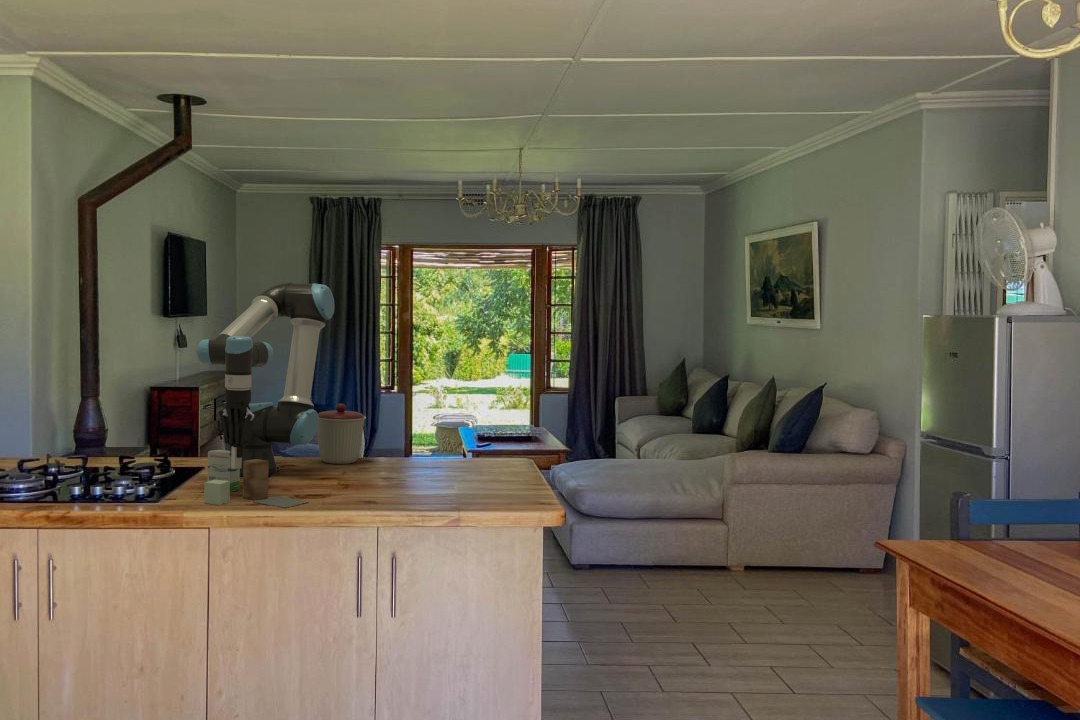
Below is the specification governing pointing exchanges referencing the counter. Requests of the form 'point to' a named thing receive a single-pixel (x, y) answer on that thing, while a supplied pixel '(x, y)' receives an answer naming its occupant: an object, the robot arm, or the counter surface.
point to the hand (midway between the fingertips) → (236, 468)
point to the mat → (280, 501)
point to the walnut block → (255, 479)
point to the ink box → (223, 468)
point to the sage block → (217, 492)
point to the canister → (340, 435)
